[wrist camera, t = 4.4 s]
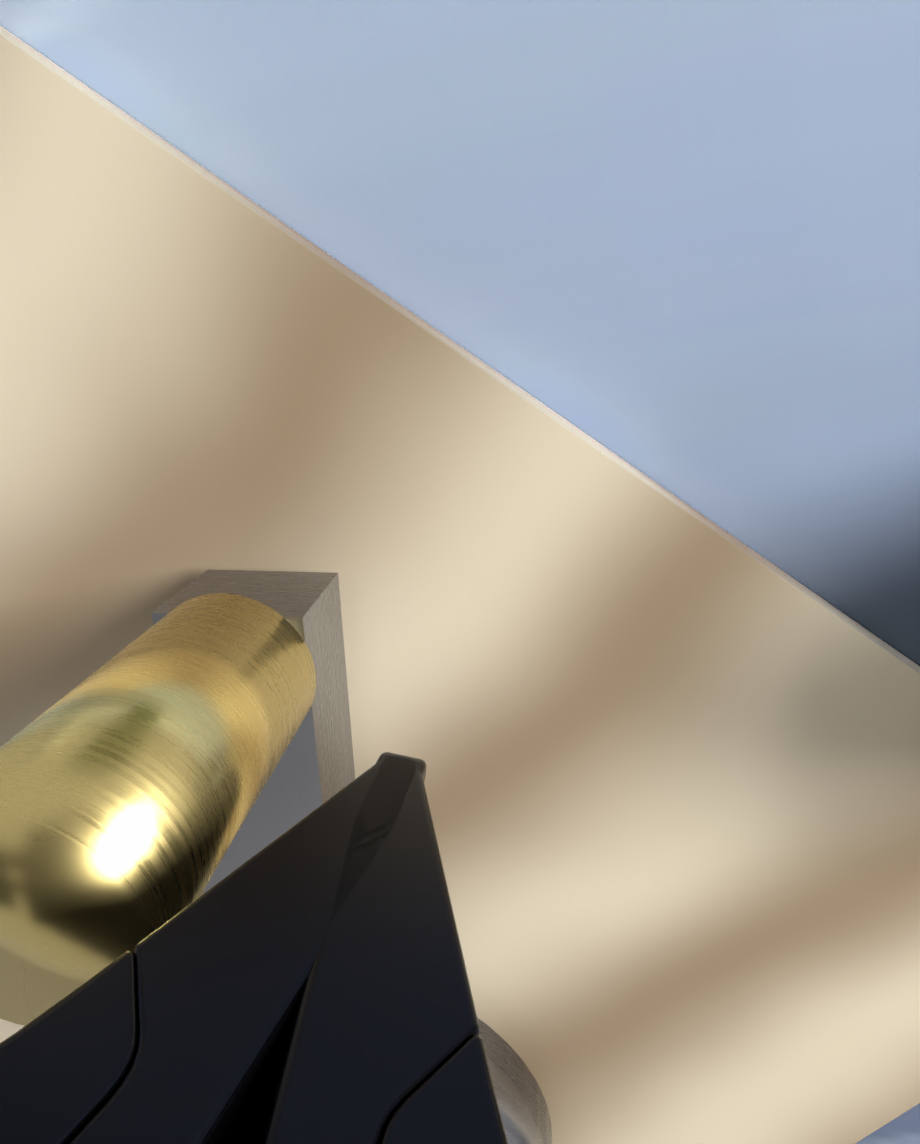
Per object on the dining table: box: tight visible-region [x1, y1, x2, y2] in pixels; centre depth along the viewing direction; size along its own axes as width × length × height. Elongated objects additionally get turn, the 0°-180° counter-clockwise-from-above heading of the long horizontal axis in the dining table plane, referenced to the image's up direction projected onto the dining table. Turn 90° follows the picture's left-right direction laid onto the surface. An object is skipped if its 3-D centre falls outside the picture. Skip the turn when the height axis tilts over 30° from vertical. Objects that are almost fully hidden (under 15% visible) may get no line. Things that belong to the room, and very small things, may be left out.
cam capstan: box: [0, 570, 552, 1144], centre depth 10 cm, size 17×9×6 cm, turn 1°
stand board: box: [0, 26, 920, 1144], centre depth 13 cm, size 23×20×2 cm
